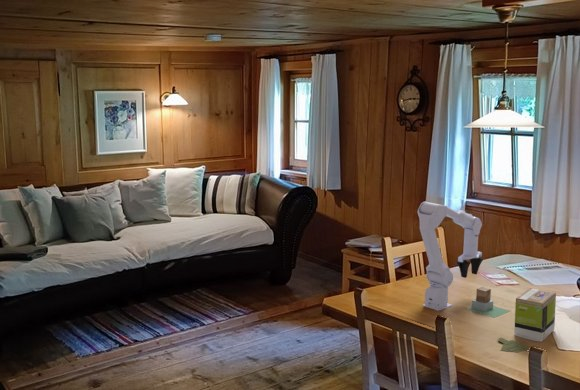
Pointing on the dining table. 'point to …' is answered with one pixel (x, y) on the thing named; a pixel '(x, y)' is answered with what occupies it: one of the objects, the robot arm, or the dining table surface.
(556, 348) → the dining table surface
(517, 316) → the tea box
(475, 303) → the base block
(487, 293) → the walnut cube
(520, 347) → the green leaf
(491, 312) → the felt mat
